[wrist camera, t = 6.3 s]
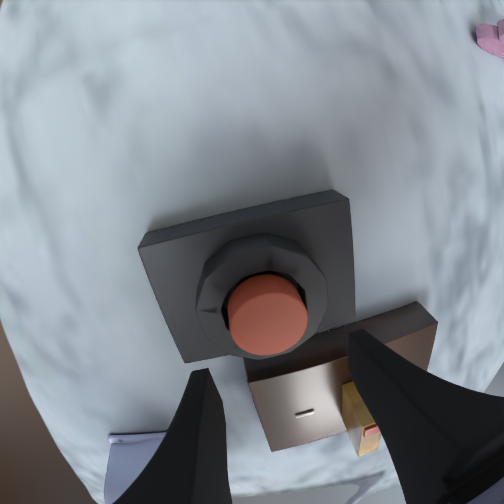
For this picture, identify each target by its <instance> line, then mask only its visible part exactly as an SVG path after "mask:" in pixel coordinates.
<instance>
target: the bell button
mask: <svg viewBox="0 0 504 504" xmlns="http://www.w3.org/2000/svg"><path fill="white" fill-rule="evenodd" d="M227 308H228V319H229V327H230V333H231V336H232V339H233V340H234V342H235V343H236V344H237V345H238V346H239V347H240V348H241V349H243V350H244V351H246V352H249V353H252V354H256V355H273V354H277V353H280V352H283V351H285V350H287V349H289V348H290V347H292V346H293V345H295V344H296V343H297V342H298V341H299V340H300V339H301V337H302V336H303V334H304V333H305V330H306V328H307V324H308V314H307V310H306V308H305V306H304V304H303V302H302V300H301V298H300V296H299V294H298V292H297V290H296V288H295V287H294V285H293V284H292V283H291V282H289V281H288V280H286V279H285V278H283V277H280V276H277V275H271V274H263V275H257V276H254V277H251V278H249V279H247V280H245V281H243V282H242V283H241V284H239V285H238V286H237V287H236V288H235V290H234V291H233V292H232V294H231V296H230V298H229V301H228V307H227Z"/></svg>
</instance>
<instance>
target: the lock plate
mask: <svg viewBox="0 0 504 504" xmlns="http://www.w3.org/2000/svg"><path fill="white" fill-rule="evenodd" d="M437 325H438V322H437V321H436V319H435V318H434V317H433V316H432V315H431V314H430V313H429V312H428V311H427V310H426V309H425V308H424V307H423V306H422V305H421V304H420V303H419V302H415V303H412V304H409V305H407V306H404V307H401V308H398V309H395V310H392V311H390V312H387V313H384V314H381V315H378V316H375V317H372V318H369V319H366V320H363V321H360V322H356V323H353V324H350V325H347V326H343V327H340V328H337V329H334V330H330V331H327V332H323V333H320V334H316V335H313V336H312V337H310V338H309V339H308V340H306V341H305V342H304V343H302V344H301V345H300V346H298V347H297V348H295V349H294V350H293V351H291V352H289V353H286V354H282V355H278V356H274V357H270V358H265V359H261V360H260V359H259V360H258V359H251V358H245V357H243V358H244V364H245V370H246V376H247V382H248V386H249V389H250V392H251V395H252V398H253V401H254V404H255V407H256V409H257V412H258V415H259V418H260V421H261V424H262V427H263V430H264V432H265V435H266V438H267V441H268V444H269V447H270V449H271V452H273V451H278V450H282V449H286V448H290V447H294V446H298V445H302V444H306V443H310V442H313V441H317V440H320V439H323V438H327V437H330V436H333V435H336V434H339V433H342V432H346V431H347V430H346V427H345V425H344V422H343V420H342V385H343V384H346V383H349V382H352V381H353V379H352V377H351V374H350V372H349V369H348V333H350V332H353V331H356V330H359V329H362V328H363V329H364V330H366V331H367V332H369V333H370V334H371V335H373V336H374V337H375V338H377V339H378V340H379V341H381V342H382V343H383V344H385V345H386V346H388V347H389V348H390V349H392V350H393V351H395V352H396V353H398V354H399V355H401V356H402V357H404V358H405V359H407V360H408V361H410V362H411V363H413V364H415V365H416V366H418V367H420V368H422V369H423V370H425V371H427V368H428V365H429V361H430V357H431V353H432V348H433V344H434V340H435V335H436V330H437Z"/></svg>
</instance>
